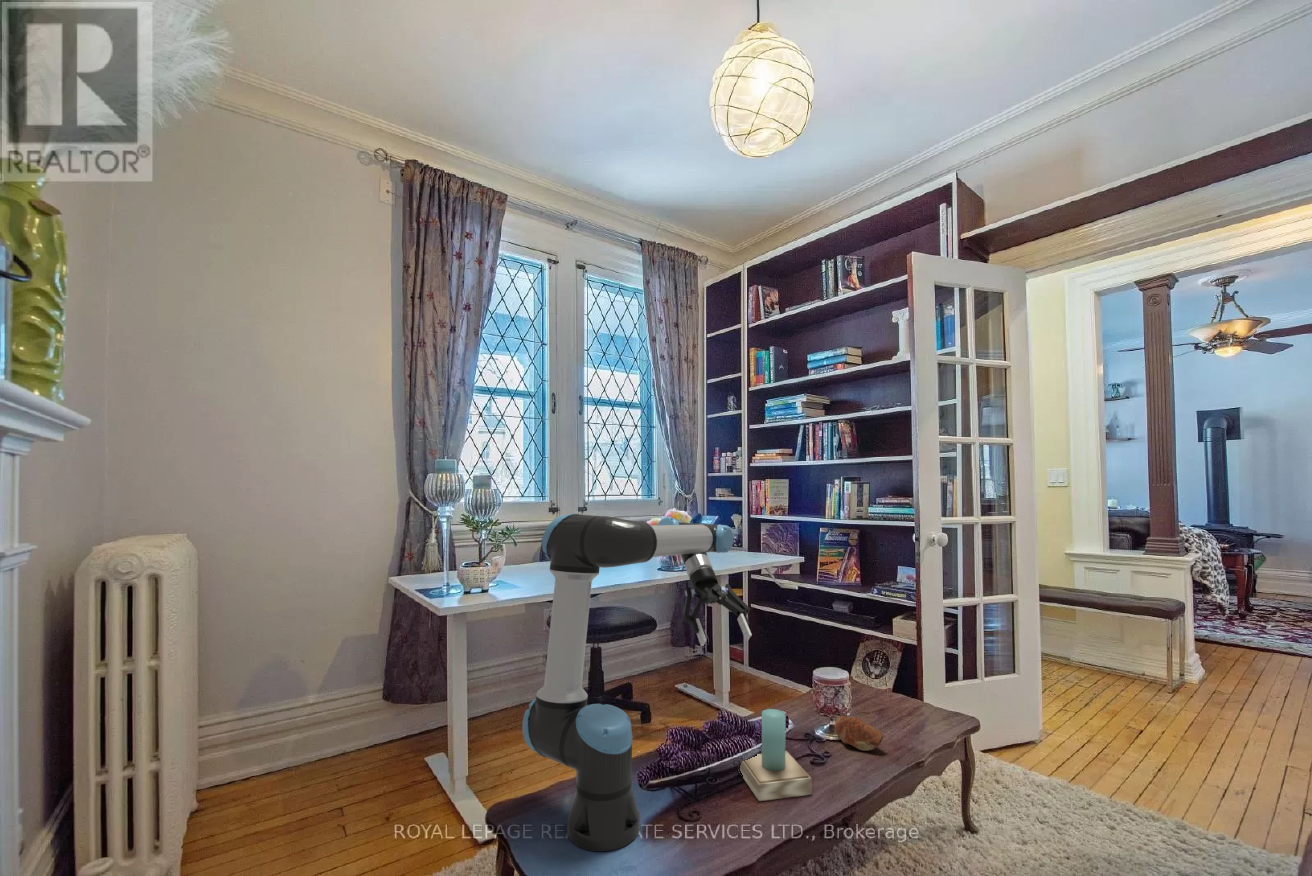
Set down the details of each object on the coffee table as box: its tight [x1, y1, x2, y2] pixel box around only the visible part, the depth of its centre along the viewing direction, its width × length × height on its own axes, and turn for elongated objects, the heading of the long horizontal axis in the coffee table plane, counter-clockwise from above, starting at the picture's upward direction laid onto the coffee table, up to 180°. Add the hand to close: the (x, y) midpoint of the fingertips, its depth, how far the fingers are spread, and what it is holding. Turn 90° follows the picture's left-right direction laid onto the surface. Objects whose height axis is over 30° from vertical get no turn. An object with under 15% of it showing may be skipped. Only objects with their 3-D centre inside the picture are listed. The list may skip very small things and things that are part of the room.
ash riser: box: [740, 750, 813, 802], centre depth 136 cm, size 13×13×4 cm
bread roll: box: [834, 715, 885, 752], centre depth 156 cm, size 13×8×10 cm
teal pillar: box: [761, 708, 787, 771], centre depth 137 cm, size 6×6×12 cm
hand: (726, 640), depth 151 cm, fingers open, 13 cm apart
